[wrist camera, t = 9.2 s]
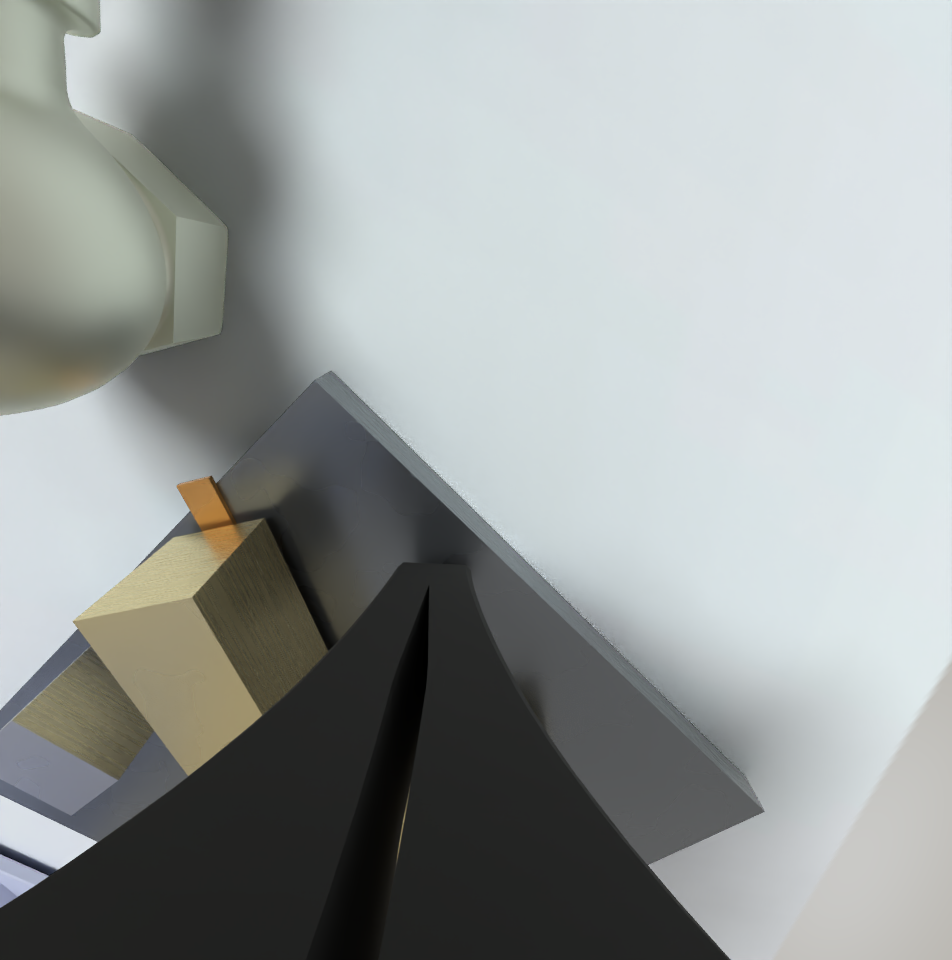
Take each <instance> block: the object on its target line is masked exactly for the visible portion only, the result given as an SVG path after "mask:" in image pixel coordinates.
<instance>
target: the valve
mask: <svg viewBox="0 0 952 960" xmlns="http://www.w3.org/2000/svg"><path fill="white" fill-rule="evenodd" d="M100 31H101V23H100V0H0V416H2V415H9V414H16V413H22V412H27V411H33V410H38V409H43V408H47V407H52V406H56V405H59V404H62V403H65V402H68V401H70V400H73V399H75V398H77V397H80V396H82V395H85V394H87V393H89V392H92V391H94V390H96V389H98V388H100V387H101V386H103V385H105V384H106V383H108V382H109V381H110V380H112V379H113V378H115V377H116V376H117V375H119V374H120V373H121V372H123V371H124V370H125V369H127V368H128V367H129V366H130V365H131V364H132V363H133V362H134V361H135V359H136V358H137V357H138V356H140V355H144V354H148V353H151V352H155V351H159V350H163V349H166V348H170V347H174V346H178V345H181V344H185V343H189V342H193V341H196V340H200V339H204V338H208V337H211V336H215V335H219V334H221V330H222V324H223V310H224V295H225V280H226V265H227V250H228V228H227V227H226V226H225V225H224V223H223V222H222V221H221V220H220V219H219V218H218V217H217V216H216V215H215V214H214V213H213V212H212V211H211V210H210V209H209V208H208V207H207V206H206V205H205V204H204V203H203V202H202V201H200V200H199V199H198V198H197V197H196V196H195V195H194V194H193V193H192V192H191V191H190V190H189V189H188V188H187V187H186V186H185V185H184V184H183V183H182V182H181V181H180V180H179V179H178V178H177V177H176V176H175V175H174V174H173V173H172V172H171V171H170V170H169V169H168V168H167V167H166V166H165V165H164V164H163V163H162V162H161V161H159V160H158V159H157V158H156V157H155V156H154V155H153V154H152V153H151V152H150V151H149V150H148V149H147V148H146V147H145V146H144V145H143V144H142V143H141V142H140V141H139V140H137V139H136V138H135V137H134V136H133V135H132V134H130V133H127V132H125V131H123V130H120V129H118V128H116V127H114V126H111V125H109V124H107V123H104V122H102V121H100V120H98V119H95V118H93V117H91V116H88V115H86V114H84V113H81V112H79V111H77V110H75V109H72V106H71V104H70V101H69V98H68V93H67V82H66V60H65V46H64V36H65V34H70V35H73V36H78V37H88V38H92V37H94V36H96V35H98V34H99V33H100Z"/></svg>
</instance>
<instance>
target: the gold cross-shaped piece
mask: <svg viewBox="0 0 952 960" xmlns="http://www.w3.org/2000/svg"><path fill="white" fill-rule="evenodd" d="M73 623H74V624H75V625H76V627H77V628H78V629H79V631H80V632H81V633H82V635H83V636H84V637H85V639H86V640H87V641H88V643H89V644H90V645H91V647H92V648H93V649H94V651H95V652H96V653H97V655H98V656H99V657H100V659H101V660H102V661H103V663H104V664H105V665H106V667H107V668H108V669H109V671H110V672H111V674H112V675H113V676H114V678H115V679H116V680H117V682H118V683H119V684H120V686H121V687H122V688H123V690H124V691H125V692H126V694H127V695H128V696H129V698H130V699H131V700H132V702H133V703H134V704H135V706H136V707H137V708H138V710H139V711H140V712H141V714H142V715H143V716H144V718H145V719H146V720H147V722H148V723H149V724H150V726H151V727H152V728H153V730H154V731H155V732H156V734H157V735H158V736H159V738H160V739H161V740H162V742H163V743H164V744H165V746H166V747H167V748H168V750H169V751H170V753H171V754H172V755H173V757H174V758H175V759H176V761H177V762H178V763H179V765H180V766H181V767H182V769H183V770H184V771H185V773H186V774H187V775H188V776H189V775H190V774H192V773H193V772H194V771H195V770H197V769H198V768H199V767H201V766H202V765H203V764H204V763H206V762H207V761H208V760H209V759H211V758H212V757H213V756H214V755H215V754H217V753H218V752H219V751H220V750H221V749H223V748H224V747H225V746H226V745H228V744H229V743H230V742H231V741H232V740H234V739H235V738H236V737H237V736H238V735H240V734H241V733H242V732H243V731H244V730H246V729H247V728H248V727H249V726H251V725H252V724H253V723H254V722H255V721H256V720H257V719H259V718H260V717H261V716H262V715H263V714H264V713H265V712H266V711H268V710H269V709H270V708H271V707H272V706H273V705H274V704H275V703H276V702H278V701H279V700H280V699H281V698H282V697H283V696H284V695H285V694H286V693H287V692H288V691H289V690H290V689H292V688H293V687H294V686H295V685H296V684H297V683H298V682H299V681H300V680H301V679H302V678H303V677H304V676H305V675H306V674H307V673H308V672H309V671H310V670H311V669H312V668H313V667H314V666H315V665H316V664H317V663H318V662H319V661H320V660H321V658H322V657H323V656H324V655H325V654H326V653H327V652H328V650H327V648H326V645H325V643H324V641H323V639H322V637H321V635H320V633H319V631H318V629H317V627H316V625H315V622H314V620H313V618H312V616H311V614H310V612H309V610H308V608H307V606H306V604H305V601H304V599H303V597H302V595H301V593H300V591H299V589H298V587H297V585H296V583H295V580H294V578H293V576H292V574H291V572H290V570H289V568H288V566H287V564H286V562H285V559H284V557H283V555H282V553H281V551H280V549H279V547H278V545H277V543H276V541H275V539H274V536H273V534H272V532H271V530H270V528H269V526H268V524H267V522H266V520H265V518H261V519H257V520H252V521H247V522H243V523H238V524H233V525H229V526H224V527H219V528H215V529H210V530H205V531H201V532H196V533H191V534H187V535H182V536H178V537H173V538H172V539H171V540H170V541H169V542H167V543H166V544H165V545H164V546H163V547H161V548H160V549H159V550H158V551H157V552H155V553H154V554H153V555H152V556H151V557H149V558H148V559H147V560H146V561H145V562H143V563H142V564H141V565H140V566H139V567H137V568H136V569H135V570H134V571H133V572H131V573H130V574H129V575H128V576H127V577H125V578H124V579H123V580H122V581H121V582H119V583H118V584H117V585H116V586H115V587H113V588H112V589H111V590H110V591H109V592H107V593H106V594H105V595H104V596H103V597H101V598H100V599H99V600H98V601H97V602H95V603H94V604H93V605H92V606H91V607H89V608H88V609H87V610H86V611H84V612H83V613H82V614H81V615H80V616H78V617H77V618H76V619H75V620H74V621H73ZM410 785H411V784H410ZM409 791H410V789H409ZM408 797H409V794H408ZM407 803H408V799H407ZM406 808H407V804H406ZM405 814H406V809H405ZM405 814H404V819H403V824H402V830H401V836H402V831H403V825H404V820H405ZM401 836H400V842H401ZM400 842H399V848H400ZM399 848H398V853H399ZM397 859H398V854H397ZM396 864H397V862H396Z"/></svg>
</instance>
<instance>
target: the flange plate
mask: <svg viewBox="0 0 952 960" xmlns="http://www.w3.org/2000/svg"><path fill="white" fill-rule="evenodd" d="M177 488H178V490H179V492H180V493H181V495H182V497H183V499H184V500H185V502H186V504H187V506H188V507H189V509H190V512H189V513H188V514H187V515H186V516H185V517H184V518H183V519H182V520H181V521H180V522H179V523H178V524H177V525H176V526H175V527H174V529H173V530H172V531H171V532H170V533H169V534H168V535H167V536H166V537H165V538H164V539H163V540H162V541H161V542H160V543H159V544H158V545H157V546H156V547H155V548H154V550H153V551H152V552H151V553H150V554H149V555H148V556H147V557H146V558H145V559H144V560H143V561H142V562H141V563H140V564H139V565H138V566H137V567H139V566H140V565H141V564H142V563H143V562H145V561H146V560H147V559H148V558H149V557H151V556H152V555H153V554H154V553H155V552H157V551H158V550H159V549H160V548H161V547H163V546H164V545H165V544H166V543H167V542H169V541H170V540H171V539H172V538H173V537H178V536H182V535H187V534H191V533H196V532H201V531H205V530H210V529H215V528H219V527H224V526H229V525H233V524H238V523H243V522H247V521H252V520H257V519H261V518H265V520H266V522H267V524H268V526H269V528H270V530H271V532H272V534H273V536H274V539H275V541H276V543H277V545H278V547H279V549H280V551H281V553H282V555H283V557H284V559H285V562H286V564H287V566H288V568H289V570H290V572H291V574H292V576H293V578H294V580H295V583H296V585H297V587H298V589H299V591H300V593H301V595H302V597H303V599H304V601H305V604H306V606H307V608H308V610H309V612H310V614H311V616H312V618H313V620H314V622H315V625H316V627H317V629H318V631H319V633H320V635H321V637H322V639H323V641H324V643H325V645H326V648H327V650H328V651H329V650H330V649H331V648H332V647H333V646H334V645H335V644H336V643H337V642H338V641H339V640H340V639H341V637H342V636H343V635H344V634H345V633H346V632H347V631H348V629H349V628H350V627H351V626H352V625H353V624H354V622H355V621H356V620H357V619H358V618H359V617H360V615H361V614H362V613H363V612H364V611H365V610H366V608H367V607H368V606H369V605H370V603H371V602H372V601H373V600H374V598H375V597H376V596H377V595H378V593H379V592H380V591H381V589H382V588H383V587H384V586H385V584H386V583H387V581H388V580H389V579H390V577H391V576H392V575H393V573H394V572H395V570H396V569H397V567H398V566H399V565H401V564H402V563H403V562H410V563H434V564H458V565H466V566H467V567H468V568H469V569H470V570H471V576H472V581H473V585H474V589H475V592H476V595H477V598H478V601H479V604H480V607H481V609H482V612H483V615H484V617H485V619H486V622H487V624H488V626H489V629H490V631H491V633H492V635H493V637H494V640H495V642H496V644H497V646H498V648H499V650H500V652H501V654H502V656H503V658H504V660H505V662H506V664H507V666H508V668H509V670H510V672H511V673H512V675H513V677H514V679H515V681H516V683H517V684H518V686H519V688H520V690H521V691H522V693H523V695H524V697H525V698H526V700H527V702H528V703H529V705H530V707H531V708H532V710H533V712H534V713H535V715H536V716H537V718H538V719H539V721H540V722H541V724H542V726H543V727H544V729H545V730H546V732H547V733H548V735H549V736H550V738H551V739H552V741H553V742H554V744H555V745H556V747H557V748H558V749H559V751H560V752H561V754H562V755H563V757H564V758H565V760H566V761H567V762H568V764H569V765H570V767H571V768H572V770H573V771H574V772H575V774H576V775H577V776H578V778H579V779H580V780H581V782H582V783H583V784H584V786H585V787H586V788H587V789H588V791H589V792H590V793H591V795H592V796H593V797H594V798H595V800H596V801H597V802H598V804H599V805H600V806H601V807H602V809H603V810H604V811H605V813H606V814H607V815H608V817H609V818H610V819H611V820H612V822H613V823H614V824H615V826H616V827H617V828H618V829H619V831H620V832H621V833H622V835H623V836H624V837H625V839H626V840H627V841H628V842H629V844H630V845H631V846H632V847H633V848H634V850H635V851H636V852H637V853H638V854H639V856H640V857H641V858H642V859H643V860H644V861H645V863H646V864H647V865H649V864H651V863H653V862H655V861H657V860H660V859H662V858H664V857H666V856H668V855H671V854H673V853H675V852H677V851H679V850H682V849H684V848H686V847H688V846H690V845H693V844H695V843H697V842H699V841H701V840H704V839H706V838H708V837H710V836H712V835H714V834H717V833H719V832H721V831H723V830H725V829H728V828H730V827H732V826H734V825H736V824H739V823H741V822H743V821H745V820H747V819H750V818H752V817H754V816H756V815H758V814H761V813H763V812H765V811H764V809H763V807H762V806H761V804H760V802H759V800H758V798H757V796H756V795H755V793H754V791H753V789H752V787H751V785H750V784H749V782H748V780H747V778H746V777H745V776H744V775H743V774H742V773H741V772H740V771H739V770H738V769H737V768H736V767H735V766H734V765H733V764H732V763H731V762H730V761H729V760H728V759H727V758H726V757H725V756H724V755H723V754H722V753H721V752H720V751H719V750H718V749H717V748H716V747H715V746H714V745H713V744H712V743H711V742H710V741H708V740H707V739H706V738H705V737H704V736H703V735H702V734H701V733H700V732H699V731H698V730H697V729H696V728H695V727H694V726H693V725H692V724H691V723H690V722H689V721H688V720H687V719H686V718H685V717H684V716H683V715H682V714H681V713H680V712H679V711H678V710H677V709H676V708H675V707H674V706H673V705H672V704H671V703H670V702H669V701H668V700H667V699H666V698H665V697H664V696H663V695H662V694H661V693H660V692H658V691H657V690H656V689H655V688H654V687H653V686H652V685H651V684H650V683H649V682H648V681H647V680H646V679H645V678H644V677H643V676H642V675H641V674H640V673H639V672H638V671H637V670H636V669H635V668H634V667H633V666H632V665H631V664H630V663H629V662H628V661H627V660H626V659H625V658H624V657H623V656H622V655H621V654H620V653H619V652H618V651H617V650H616V649H615V648H614V647H613V646H612V645H611V644H610V643H608V642H607V641H606V640H605V639H604V638H603V637H602V636H601V635H600V634H599V633H598V632H597V631H596V630H595V629H594V628H593V627H592V626H591V625H590V624H589V623H588V622H587V621H586V620H585V619H584V618H583V617H582V616H581V615H580V614H579V613H578V612H577V611H576V610H575V609H574V608H573V607H572V606H571V605H570V604H569V603H568V602H567V601H566V600H565V599H564V598H563V597H562V596H561V595H560V594H558V593H557V592H556V591H555V590H554V589H553V588H552V587H551V586H550V585H549V584H548V583H547V582H546V581H545V580H544V579H543V578H542V577H541V576H540V575H539V574H538V573H537V572H536V571H535V570H534V569H533V568H532V567H531V566H530V565H529V564H528V563H527V562H526V561H525V560H524V559H523V558H522V557H521V556H520V555H519V554H518V553H517V552H516V551H515V550H514V549H513V548H512V547H511V546H510V545H508V544H507V543H506V542H505V541H504V540H503V539H502V538H501V537H500V536H499V535H498V534H497V533H496V532H495V531H494V530H493V529H492V528H491V527H490V526H489V525H488V524H487V523H486V522H485V521H484V520H483V519H482V518H481V517H480V516H479V515H478V514H477V513H476V512H475V511H474V510H473V509H472V508H471V507H470V506H469V505H468V504H467V503H466V502H465V501H464V500H463V499H462V498H461V497H460V496H458V495H457V494H456V493H455V492H454V491H453V490H452V489H451V488H450V487H449V486H448V485H447V484H446V483H445V482H444V481H443V480H442V479H441V478H440V477H439V476H438V475H437V474H436V473H435V472H434V471H433V470H432V469H431V468H430V467H429V466H428V465H427V464H426V463H425V462H424V461H423V460H422V459H421V458H420V457H419V456H418V455H417V454H416V453H415V452H414V451H413V450H412V449H411V448H410V447H408V446H407V445H406V444H405V443H404V442H403V441H402V440H401V439H400V438H399V437H398V436H397V435H396V434H395V433H394V432H393V431H392V430H391V429H390V428H389V427H388V426H387V425H386V424H385V423H384V422H383V421H382V420H381V419H380V418H379V417H378V416H377V415H376V414H375V413H374V412H373V411H372V410H371V409H370V408H369V407H368V406H367V405H366V404H365V403H364V402H363V401H362V400H361V399H360V398H358V397H357V396H356V395H355V394H354V393H353V392H352V391H351V390H350V389H349V388H348V387H347V386H346V385H345V384H344V383H343V382H342V381H341V380H340V379H339V378H338V377H337V376H336V375H335V374H334V373H333V372H332V371H330V372H328V373H326V374H325V375H323V376H321V377H320V378H318V379H316V380H315V381H314V382H313V383H312V384H311V385H310V386H309V387H308V388H307V389H306V390H305V391H304V392H303V393H302V394H301V395H300V396H299V397H298V398H297V400H296V401H295V402H294V403H293V404H292V405H291V406H290V407H289V408H288V409H287V410H286V411H285V412H284V413H283V414H282V415H281V416H280V417H279V418H278V419H277V421H276V422H275V423H274V424H273V425H272V426H271V427H270V428H269V429H268V430H267V431H266V432H265V433H264V434H263V435H262V436H261V437H260V438H259V439H258V440H257V441H256V443H255V444H254V445H253V446H252V447H251V448H250V449H249V450H248V451H247V452H246V453H245V454H244V455H243V456H242V457H241V458H240V459H239V460H238V461H237V462H236V464H235V465H234V466H233V467H232V468H231V469H230V470H229V471H228V472H227V473H226V474H225V475H224V476H223V477H222V478H221V479H220V480H219V481H218V482H217V483H215V481H214V479H213V477H212V476H209V477H204V478H200V479H196V480H192V481H188V482H184V483H180V484H179V485H177ZM137 567H136V568H137ZM136 568H135V569H136ZM135 569H134V570H135ZM134 570H133V571H134ZM187 777H188V775H187V774H186V773H185V771H184V770H183V769H182V767H181V766H180V765H179V763H178V762H177V761H176V759H175V758H174V757H173V755H172V754H171V753H170V751H169V750H168V748H167V747H166V746H165V744H164V743H163V742H162V740H161V739H160V738H159V736H158V735H157V734H156V732H155V731H154V730H153V728H152V727H151V726H150V724H149V723H148V722H147V720H146V719H145V718H144V716H143V715H142V714H141V712H140V711H139V710H138V708H137V707H136V706H135V704H134V703H133V702H132V700H131V699H130V698H129V696H128V695H127V694H126V692H125V691H124V690H123V688H122V687H121V686H120V684H119V683H118V682H117V680H116V679H115V678H114V676H113V675H112V674H111V672H110V671H109V669H108V668H107V667H106V665H105V664H104V663H103V661H102V660H101V659H100V657H99V656H98V655H97V653H96V652H95V651H94V649H93V648H92V647H91V645H90V644H89V643H88V641H87V640H86V639H85V637H84V636H83V635H82V633H81V632H80V631H79V629H77V630H76V631H75V632H74V633H73V634H72V636H71V637H70V638H69V639H68V640H67V641H66V642H65V643H64V644H63V645H62V646H61V647H60V648H59V649H58V650H57V651H56V652H55V653H54V654H53V655H52V657H51V658H50V659H49V660H48V661H47V662H46V663H45V664H44V665H43V666H42V667H41V668H40V669H39V670H38V671H37V672H36V673H35V674H34V675H33V676H32V677H31V679H30V680H29V681H28V682H27V683H26V684H25V685H24V686H23V687H22V688H21V689H20V690H19V691H18V692H17V693H16V694H15V695H14V696H13V697H12V698H11V700H10V701H9V702H8V703H7V704H6V705H5V706H4V707H3V708H2V709H1V710H0V795H2V796H4V797H6V798H8V799H10V800H12V801H14V802H16V803H18V804H20V805H22V806H24V807H27V808H29V809H31V810H33V811H35V812H37V813H39V814H41V815H43V816H45V817H47V818H49V819H51V820H53V821H56V822H58V823H60V824H62V825H64V826H66V827H68V828H70V829H72V830H74V831H76V832H78V833H80V834H83V835H85V836H87V837H89V838H91V839H93V840H95V841H97V842H99V841H100V840H102V839H103V838H104V837H106V836H107V835H109V834H110V833H111V832H113V831H114V830H116V829H117V828H118V827H120V826H121V825H122V824H124V823H125V822H127V821H128V820H129V819H131V818H132V817H134V816H135V815H136V814H138V813H139V812H140V811H142V810H143V809H145V808H146V807H147V806H149V805H150V804H152V803H153V802H154V801H156V800H157V799H158V798H160V797H161V796H163V795H164V794H165V793H167V792H168V791H170V790H171V789H172V788H174V787H175V786H176V785H177V784H179V783H180V782H181V781H183V780H184V779H185V778H187Z"/></svg>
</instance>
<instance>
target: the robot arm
mask: <svg viewBox="0 0 952 960" xmlns="http://www.w3.org/2000/svg"><path fill="white" fill-rule="evenodd" d="M410 784H411V785H410ZM409 789H410V791H409ZM408 794H409V797H408ZM407 799H408V803H407ZM406 804H407V808H406ZM405 809H406V814H405ZM404 814H405V820H404V825H403V831H402V836H401V830H402V824H403V819H404ZM400 836H401V842H400ZM399 842H400V848H399ZM398 848H399V853H398ZM397 854H398V859H397ZM396 862H397V864H396ZM0 960H730V959H729V957H728V956H727V955H726V954H725V953H724V952H723V951H722V950H721V949H720V948H719V947H718V945H717V944H716V943H715V942H714V941H713V940H712V939H711V938H710V936H709V935H708V934H707V933H706V932H705V931H704V930H703V929H702V927H701V926H700V925H699V924H698V923H697V922H696V921H695V920H694V918H693V917H692V916H691V915H690V914H689V913H688V912H687V911H686V910H685V908H684V907H683V906H682V905H681V904H680V903H679V902H678V901H677V899H676V898H675V897H674V896H673V895H672V893H671V892H670V891H669V890H668V889H667V888H666V886H665V885H664V884H663V883H662V882H661V880H660V879H659V878H658V877H657V876H656V874H655V873H654V872H653V871H652V870H651V869H650V867H649V866H648V865H647V864H646V863H645V861H644V860H643V859H642V858H641V857H640V856H639V854H638V853H637V852H636V851H635V850H634V848H633V847H632V846H631V845H630V844H629V842H628V841H627V840H626V839H625V837H624V836H623V835H622V833H621V832H620V831H619V829H618V828H617V827H616V826H615V824H614V823H613V822H612V820H611V819H610V818H609V817H608V815H607V814H606V813H605V811H604V810H603V809H602V807H601V806H600V805H599V804H598V802H597V801H596V800H595V798H594V797H593V796H592V795H591V793H590V792H589V791H588V789H587V788H586V787H585V786H584V784H583V783H582V782H581V780H580V779H579V778H578V776H577V775H576V774H575V772H574V771H573V770H572V768H571V767H570V765H569V764H568V762H567V761H566V760H565V758H564V757H563V755H562V754H561V752H560V751H559V749H558V748H557V747H556V745H555V744H554V742H553V741H552V739H551V738H550V736H549V735H548V733H547V732H546V730H545V729H544V727H543V726H542V724H541V722H540V721H539V719H538V718H537V716H536V715H535V713H534V712H533V710H532V708H531V707H530V705H529V703H528V702H527V700H526V698H525V697H524V695H523V693H522V691H521V690H520V688H519V686H518V684H517V683H516V681H515V679H514V677H513V675H512V673H511V672H510V670H509V668H508V666H507V664H506V662H505V660H504V658H503V656H502V654H501V652H500V650H499V648H498V646H497V644H496V642H495V640H494V637H493V635H492V633H491V631H490V629H489V626H488V624H487V622H486V619H485V617H484V615H483V612H482V609H481V607H480V604H479V601H478V598H477V595H476V592H475V589H474V585H473V581H472V576H471V570H470V569H469V568H468V567H467V566H466V565H458V564H434V563H410V562H403V563H402V564H401V565H399V566H398V567H397V569H396V570H395V572H394V573H393V575H392V576H391V577H390V579H389V580H388V581H387V583H386V584H385V586H384V587H383V588H382V589H381V591H380V592H379V593H378V595H377V596H376V597H375V598H374V600H373V601H372V602H371V603H370V605H369V606H368V607H367V608H366V610H365V611H364V612H363V613H362V614H361V615H360V617H359V618H358V619H357V620H356V621H355V622H354V624H353V625H352V626H351V627H350V628H349V629H348V631H347V632H346V633H345V634H344V635H343V636H342V637H341V639H340V640H339V641H338V642H337V643H336V644H335V645H334V646H333V647H332V648H331V649H330V650H329V651H328V652H327V653H326V654H325V655H324V656H323V657H322V658H321V660H320V661H319V662H318V663H317V664H316V665H315V666H314V667H313V668H312V669H311V670H310V671H309V672H308V673H307V674H306V675H305V676H304V677H303V678H302V679H301V680H300V681H299V682H298V683H297V684H296V685H295V686H294V687H293V688H292V689H290V690H289V691H288V692H287V693H286V694H285V695H284V696H283V697H282V698H281V699H280V700H279V701H278V702H276V703H275V704H274V705H273V706H272V707H271V708H270V709H269V710H268V711H266V712H265V713H264V714H263V715H262V716H261V717H260V718H259V719H257V720H256V721H255V722H254V723H253V724H252V725H251V726H249V727H248V728H247V729H246V730H244V731H243V732H242V733H241V734H240V735H238V736H237V737H236V738H235V739H234V740H232V741H231V742H230V743H229V744H228V745H226V746H225V747H224V748H223V749H221V750H220V751H219V752H218V753H217V754H215V755H214V756H213V757H212V758H211V759H209V760H208V761H207V762H206V763H204V764H203V765H202V766H201V767H199V768H198V769H197V770H195V771H194V772H193V773H192V774H190V775H189V776H188V777H187V778H185V779H184V780H183V781H181V782H180V783H179V784H177V785H176V786H175V787H174V788H172V789H171V790H170V791H168V792H167V793H165V794H164V795H163V796H161V797H160V798H158V799H157V800H156V801H154V802H153V803H152V804H150V805H149V806H147V807H146V808H145V809H143V810H142V811H140V812H139V813H138V814H136V815H135V816H134V817H132V818H131V819H129V820H128V821H127V822H125V823H124V824H122V825H121V826H120V827H118V828H117V829H116V830H114V831H113V832H111V833H110V834H109V835H107V836H106V837H104V838H103V839H102V840H100V841H99V842H98V843H96V844H95V845H93V846H92V847H91V848H89V849H88V850H86V851H85V852H83V853H82V854H81V855H79V856H78V857H76V858H75V859H73V860H72V861H70V862H69V863H68V864H66V865H65V866H63V867H62V868H60V869H59V870H57V871H56V872H54V873H53V874H51V875H50V876H48V875H46V874H44V873H41V872H39V871H37V870H35V869H32V868H30V867H28V866H26V865H23V864H21V863H19V862H17V861H14V860H12V859H10V858H8V857H5V856H3V855H1V854H0Z"/></svg>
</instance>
